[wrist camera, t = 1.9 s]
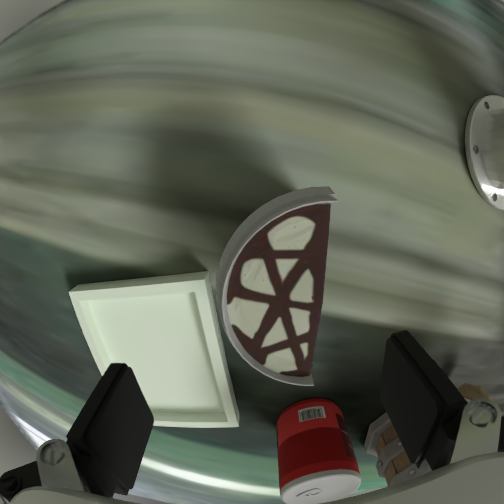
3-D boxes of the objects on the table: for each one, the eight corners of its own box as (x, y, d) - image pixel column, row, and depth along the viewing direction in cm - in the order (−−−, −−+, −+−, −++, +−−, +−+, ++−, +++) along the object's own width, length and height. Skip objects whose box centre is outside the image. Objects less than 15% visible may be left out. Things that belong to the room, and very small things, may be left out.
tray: (208, 270, 25) (204, 279, 23) (239, 414, 30) (238, 426, 28) (78, 284, 26) (68, 292, 24) (131, 412, 31) (127, 422, 29)
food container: (228, 177, 23) (208, 184, 13) (305, 180, 23) (339, 189, 13) (228, 316, 26) (215, 390, 17) (295, 318, 26) (312, 391, 17)
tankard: (393, 455, 34) (419, 526, 19) (348, 438, 32) (372, 528, 17) (489, 372, 29) (539, 433, 15) (462, 336, 27) (532, 411, 13)
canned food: (262, 422, 31) (263, 498, 20) (311, 385, 29) (329, 467, 18) (306, 442, 32) (315, 511, 21) (353, 410, 30) (376, 481, 20)
